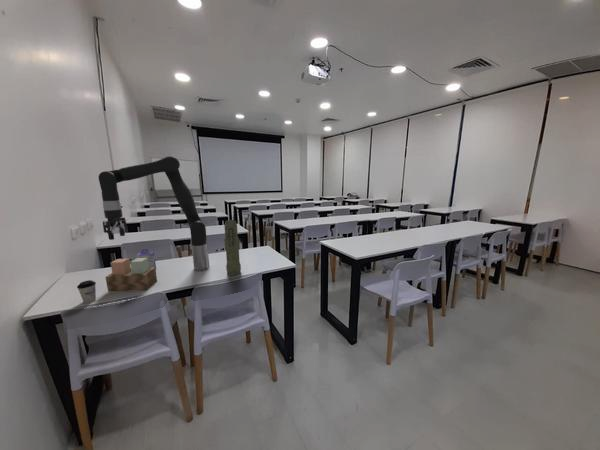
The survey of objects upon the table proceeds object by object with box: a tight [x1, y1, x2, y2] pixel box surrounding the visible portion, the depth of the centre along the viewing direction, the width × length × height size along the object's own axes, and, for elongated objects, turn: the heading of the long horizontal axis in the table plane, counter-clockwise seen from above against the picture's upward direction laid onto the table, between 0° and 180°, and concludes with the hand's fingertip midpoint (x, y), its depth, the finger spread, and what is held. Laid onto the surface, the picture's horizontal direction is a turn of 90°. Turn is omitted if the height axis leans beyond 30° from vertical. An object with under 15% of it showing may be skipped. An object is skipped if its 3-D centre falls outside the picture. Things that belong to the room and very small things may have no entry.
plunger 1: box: [110, 257, 131, 275], centre depth 127 cm, size 6×6×10 cm
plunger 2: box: [130, 257, 150, 274], centre depth 128 cm, size 6×6×10 cm
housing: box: [105, 267, 158, 293], centre depth 129 cm, size 20×11×9 cm, turn 96°
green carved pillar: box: [223, 219, 242, 277], centre depth 144 cm, size 9×12×35 cm
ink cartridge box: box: [135, 248, 157, 269], centre depth 151 cm, size 10×6×14 cm, turn 116°
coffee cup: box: [76, 279, 97, 304], centre depth 114 cm, size 7×7×10 cm
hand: (117, 237), depth 127 cm, fingers open, 8 cm apart
